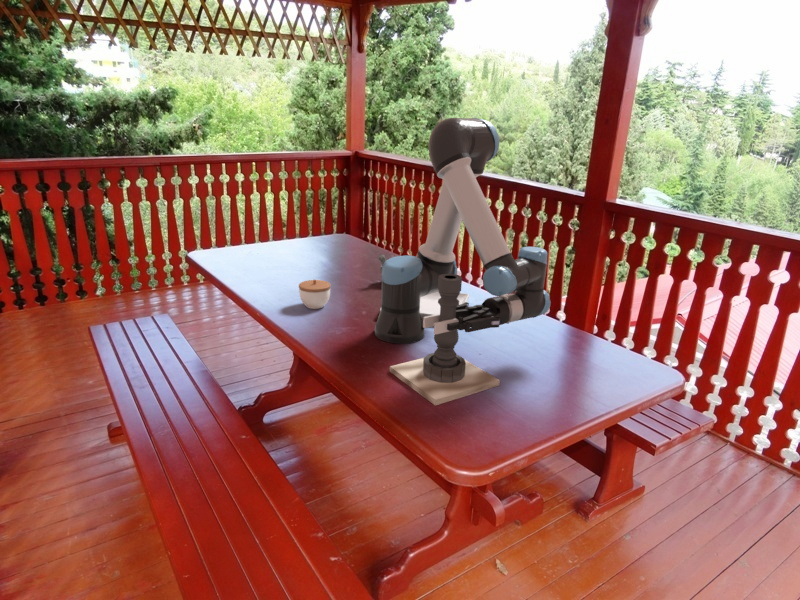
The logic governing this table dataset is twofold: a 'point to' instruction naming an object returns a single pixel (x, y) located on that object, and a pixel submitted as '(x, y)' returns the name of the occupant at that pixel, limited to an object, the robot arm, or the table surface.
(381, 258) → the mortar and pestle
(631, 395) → the table surface
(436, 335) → the candle holder
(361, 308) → the table surface
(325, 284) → the lidded jar
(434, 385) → the socket board
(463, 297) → the square plate
